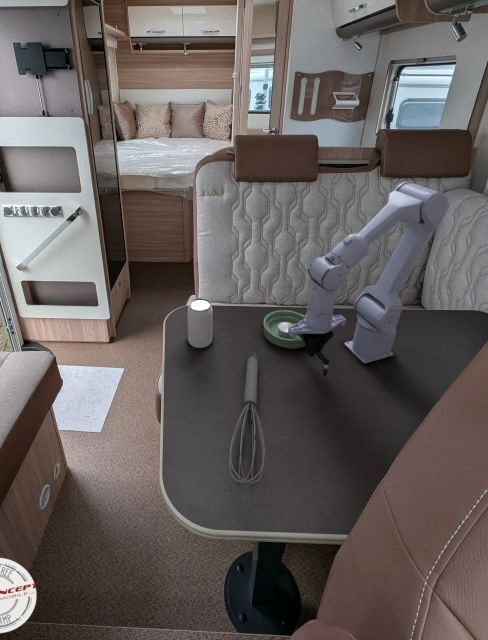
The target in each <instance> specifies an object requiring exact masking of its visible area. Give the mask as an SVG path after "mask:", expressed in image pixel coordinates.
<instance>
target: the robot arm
mask: <svg viewBox="0 0 488 640" xmlns="http://www.w3.org/2000/svg"><path fill="white" fill-rule="evenodd" d="M387 198H388V199H387V203H386V205H384V206H383V207H382V209H380V211H378V213H377V214H376V215H375V216H374V217H373V218H371V220H370V221H369V222H368V223H367V224H366V225H365V226H364V227H363V228H362V229H361V230H360V231H359V233H350V234H348V235H346V236H345V237H344V238H343V239H342V240H341V241H340V242H339V243H338V244H337V245H336V246H335V247H333V248H332V249H331V250H330V251H329V252H328V253H327V254H326V255H324V256H318V257H316V258H315V259H313V260H312V261H311V262H310V264H309V267H307V268H306V272H307V275H308V276H309V277H310V280H309V284H310V287H309V288H310V289H309V295H308V302H307V308H306V313H305V315H304V316H305V319H303V320H302V321H300V322H298V323H297V324H295V325H293V326H290V327H289V329H288V334H289V335H290V336H291V337H292V338H296V335H300V334H302V335H303V338H304V341H305V346H304V347H305V352H306V354H307V355H308V356H309V357H310V358H312V357H314V356H315V348H317V349H318V350H319V351H320V352H321V353H322V350H323V348H324V347H325V346H326V344H327V343H328V342H329V341H330V340H331V339H332V338H333V337H334V332H333V329H335V328H337V327H338V326H340V327H344V326H345V325H346V321H347V319H346V318H345V317H344V316H343V315H342V314H338V315H336V314H335V315H334V309H335V304H336V298H337V294H338V290H339V288H341V287H342V286H343V285H344V284H345V283H346V281H347V279H348V276H349V275H350V273H351V270H352V269H353V268H354V267H356V266H357V265H358V264H359V263H360V262H361V261H362V260H363V259H365V257H366V256H368V255H370V249H371V245H372V244H374V243H375V242H376V241H377V240H379V239H380V238H381V237H383V236H384V235H385V234H387V233H388V232H389V231H390V230H392V229H393V228H394V227H396V226H397V225H398V224H399V223H405V225H406V228H405V230H404V232H403V234H402V236H401V237H400V239H399V241H398V243H397V245H396V247H395V248H394V250H393V252H392V254H391V255H390V258H389V260H388V261H387V263H386V265H385V266H384V269H383V271H382V272H381V275H380V276H379V278H378V280H377V282H376V284H374V285H369V286H365V287H364V289H363V291H362V292H361V293H360V294H359V295H358V296H356V297H357V298H356V299H355V300H354V303H353V310H354V311H355V312H356V315H355V316H356V318H357V321H356V325H355V330H354V334H353V338H352V340H350V341H345V342H344V346H345V347H346V348H347V349H348V350H349V351H350V352H351V353H352V354H353V355H354V356H355V357H356V358H357V359H358V360H359V361H360V362H361V363H362V364H368V363H372V362H375V361H376V362H377V361H379V360H382V359H386V358H389V357H393V356H394V353H393V352H392V349H393V345H394V343H395V340H396V335H397V330H396V327H397V325H398V324H399V320H400V317H401V313H402V311H403V310H404V306H403V304H402V301H401V298H400V296H399V294H400V292H401V291H402V289H403V287H404V285H405V283H406V282H407V280H408V278H409V276H410V274H411V273H412V271H413V269H414V268H415V266H416V264H417V263H418V260H419V259H420V257H421V255H422V253H423V252H424V250H425V248H426V246H427V245H428V243H429V241H430V239H431V238H432V236H433V234H434V233H435V232H436V231H437V230H438V228H439V226H440V224H441V222H442V221H443V219H444V218H445V216H446V214H447V212H448V211H449V209H450V203H449V198H448V196H447V194H446V193H445V192H443V191H437V190H434V189H431V188H429V187H424V186H422V185H419V184H416V183H413V182H412V181H408V180H407V181H403V182H401V183H400V184H398V186H396V187H395V189H393V191H391V192H390V193H389V195H388V197H387Z"/></svg>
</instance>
